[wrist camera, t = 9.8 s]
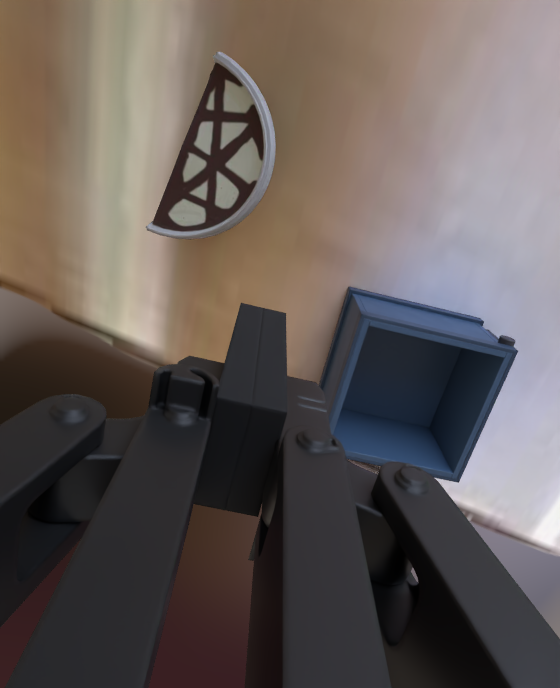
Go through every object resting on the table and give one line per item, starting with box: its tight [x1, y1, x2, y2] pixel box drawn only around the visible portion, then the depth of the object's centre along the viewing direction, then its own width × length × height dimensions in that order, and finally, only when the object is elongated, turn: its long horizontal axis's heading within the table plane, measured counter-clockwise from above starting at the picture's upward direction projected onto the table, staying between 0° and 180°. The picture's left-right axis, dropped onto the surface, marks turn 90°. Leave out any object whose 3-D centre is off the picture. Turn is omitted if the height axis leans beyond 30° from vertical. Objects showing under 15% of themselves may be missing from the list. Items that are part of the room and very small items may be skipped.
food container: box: [146, 52, 276, 239], centre depth 37 cm, size 12×6×10 cm, turn 154°
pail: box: [319, 287, 518, 483], centre depth 44 cm, size 13×8×13 cm
